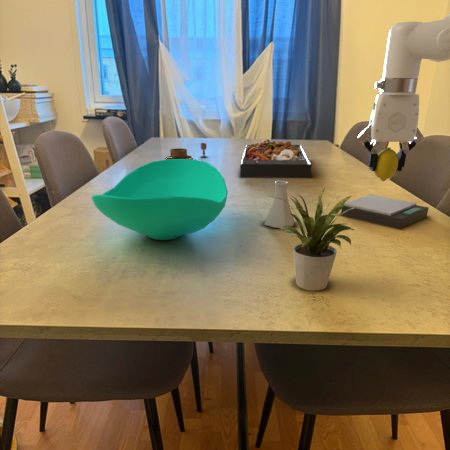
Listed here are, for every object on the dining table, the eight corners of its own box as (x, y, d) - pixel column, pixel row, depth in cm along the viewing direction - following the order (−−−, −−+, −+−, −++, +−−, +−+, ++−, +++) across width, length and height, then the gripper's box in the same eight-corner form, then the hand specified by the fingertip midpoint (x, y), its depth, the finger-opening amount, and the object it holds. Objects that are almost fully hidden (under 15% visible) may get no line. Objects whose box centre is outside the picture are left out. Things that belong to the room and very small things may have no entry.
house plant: (258, 300, 68) (262, 198, 61) (265, 266, 81) (268, 178, 73) (351, 306, 66) (366, 201, 59) (343, 271, 79) (355, 180, 71)
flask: (299, 222, 105) (302, 180, 100) (287, 230, 99) (290, 187, 95) (272, 218, 108) (273, 177, 103) (259, 226, 103) (260, 183, 98)
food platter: (310, 177, 150) (313, 146, 146) (240, 177, 152) (240, 146, 148) (301, 156, 190) (302, 131, 185) (245, 156, 192) (245, 131, 187)
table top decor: (213, 272, 78) (211, 200, 72) (69, 265, 82) (56, 195, 76) (236, 212, 113) (236, 159, 107) (134, 208, 117) (129, 158, 111)
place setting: (161, 159, 187) (160, 144, 184) (205, 156, 192) (205, 142, 190) (169, 165, 172) (168, 150, 170) (216, 162, 178) (216, 147, 175)
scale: (426, 216, 108) (429, 205, 107) (400, 229, 100) (402, 216, 98) (369, 204, 119) (370, 193, 117) (340, 215, 110) (342, 203, 109)
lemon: (372, 183, 105) (377, 148, 101) (370, 178, 109) (375, 145, 106) (396, 184, 103) (402, 149, 100) (393, 179, 108) (399, 146, 104)
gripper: (364, 88, 94) (353, 173, 102) (444, 87, 93) (426, 173, 101) (355, 87, 100) (346, 167, 109) (430, 86, 100) (415, 167, 108)
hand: (385, 169), depth 105 cm, fingers closed on lemon, 5 cm apart
